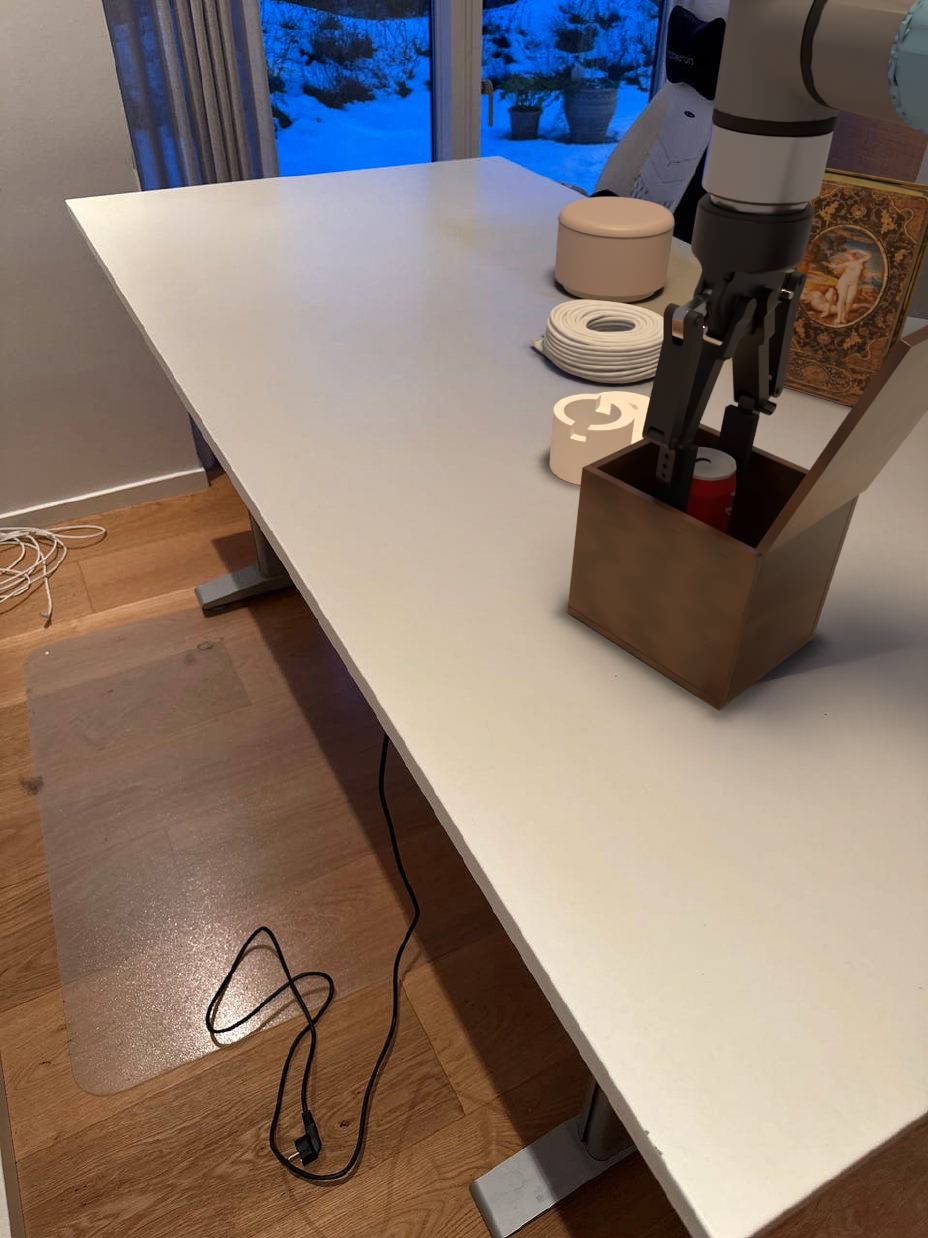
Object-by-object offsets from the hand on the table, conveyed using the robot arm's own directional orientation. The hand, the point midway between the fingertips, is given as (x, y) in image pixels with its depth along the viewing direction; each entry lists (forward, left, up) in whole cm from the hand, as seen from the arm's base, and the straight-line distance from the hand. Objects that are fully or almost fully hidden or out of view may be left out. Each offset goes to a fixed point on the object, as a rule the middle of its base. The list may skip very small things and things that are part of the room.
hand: (698, 498), depth 75 cm
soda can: (0, 0, -9) cm, 9 cm away
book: (+5, -56, -13) cm, 57 cm away
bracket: (+20, -26, -13) cm, 35 cm away
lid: (-12, +3, +11) cm, 17 cm away
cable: (+31, -48, -13) cm, 58 cm away
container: (+44, -75, -13) cm, 87 cm away
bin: (-1, 0, -12) cm, 12 cm away
